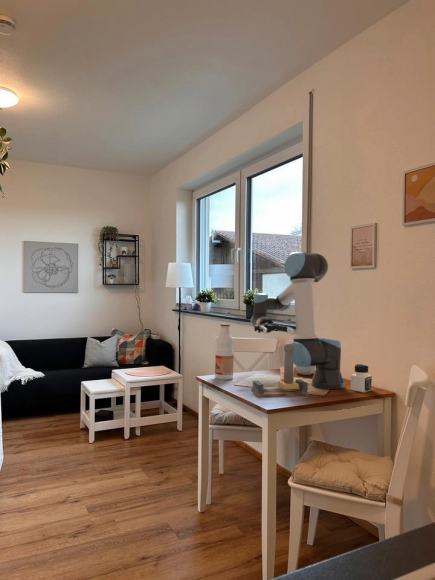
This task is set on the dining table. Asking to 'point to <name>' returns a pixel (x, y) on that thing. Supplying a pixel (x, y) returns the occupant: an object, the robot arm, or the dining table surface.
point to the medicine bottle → (361, 379)
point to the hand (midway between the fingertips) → (279, 331)
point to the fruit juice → (224, 354)
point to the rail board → (280, 390)
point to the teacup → (305, 370)
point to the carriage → (288, 368)
